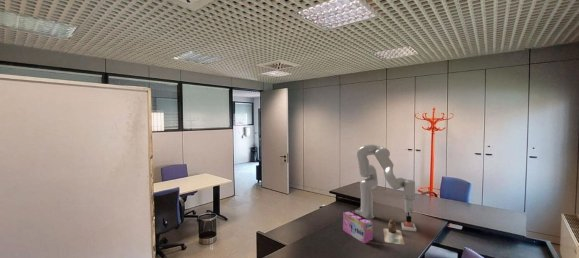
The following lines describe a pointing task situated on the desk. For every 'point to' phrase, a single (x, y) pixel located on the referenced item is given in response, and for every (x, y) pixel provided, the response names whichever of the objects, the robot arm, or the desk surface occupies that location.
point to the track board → (393, 237)
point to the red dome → (408, 224)
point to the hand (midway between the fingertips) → (408, 221)
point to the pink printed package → (358, 226)
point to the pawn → (392, 226)
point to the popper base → (408, 227)
